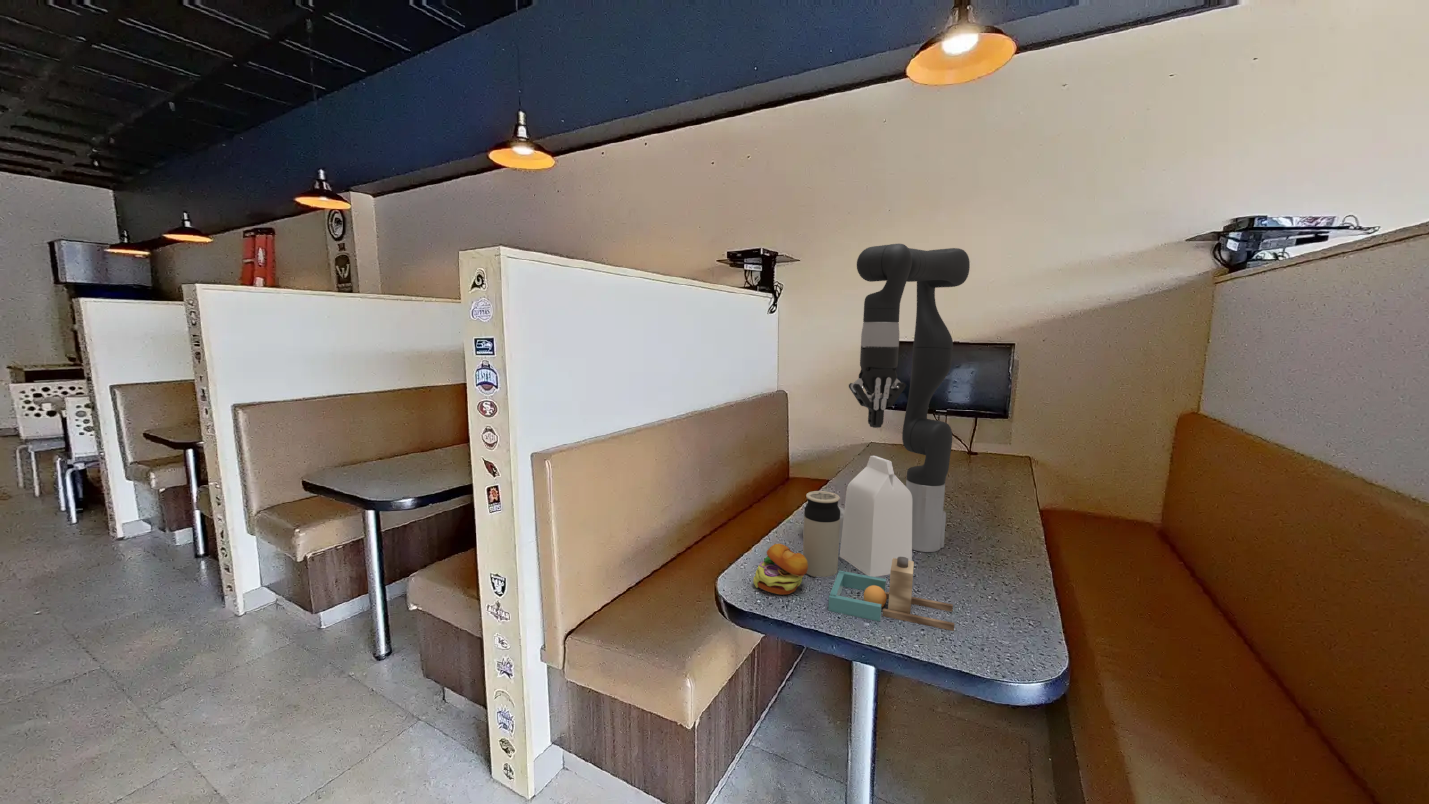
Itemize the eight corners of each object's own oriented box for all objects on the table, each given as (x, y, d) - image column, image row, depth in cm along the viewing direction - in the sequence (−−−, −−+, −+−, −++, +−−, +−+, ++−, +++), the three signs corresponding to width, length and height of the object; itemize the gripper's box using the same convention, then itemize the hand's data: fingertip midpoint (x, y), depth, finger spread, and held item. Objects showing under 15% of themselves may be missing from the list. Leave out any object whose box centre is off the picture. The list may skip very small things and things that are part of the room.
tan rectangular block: (910, 604, 104) (914, 554, 103) (909, 618, 99) (913, 567, 97) (890, 599, 106) (893, 551, 104) (887, 614, 100) (891, 563, 99)
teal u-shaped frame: (885, 594, 109) (886, 579, 109) (880, 624, 98) (881, 607, 97) (838, 585, 113) (839, 570, 112) (828, 613, 101) (828, 596, 101)
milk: (839, 558, 126) (844, 454, 123) (878, 552, 130) (884, 451, 127) (869, 580, 115) (876, 466, 112) (911, 573, 119) (919, 463, 116)
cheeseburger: (748, 575, 117) (759, 533, 116) (792, 584, 118) (804, 543, 117) (755, 597, 107) (768, 551, 106) (804, 607, 108) (817, 562, 107)
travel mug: (840, 579, 116) (844, 501, 113) (805, 578, 116) (808, 500, 113) (833, 563, 124) (836, 490, 121) (799, 563, 124) (802, 490, 121)
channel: (952, 610, 102) (952, 604, 102) (954, 631, 95) (954, 625, 95) (885, 597, 107) (886, 591, 107) (882, 616, 100) (882, 610, 99)
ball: (884, 584, 106) (866, 593, 107) (875, 579, 103) (856, 588, 105) (893, 605, 103) (874, 614, 104) (884, 600, 100) (864, 610, 102)
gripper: (895, 344, 113) (890, 422, 115) (841, 344, 109) (838, 425, 111) (918, 345, 106) (913, 428, 108) (862, 344, 102) (858, 431, 104)
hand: (875, 427), depth 109 cm, fingers closed
